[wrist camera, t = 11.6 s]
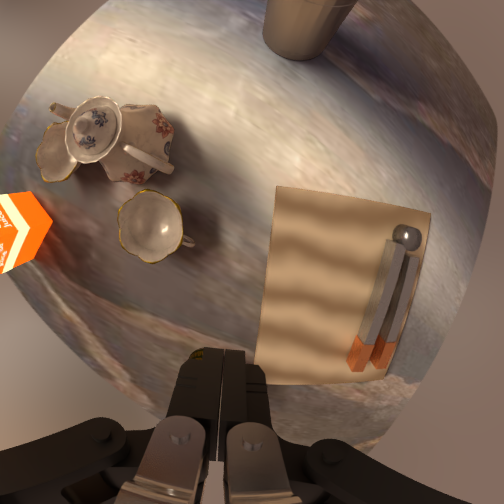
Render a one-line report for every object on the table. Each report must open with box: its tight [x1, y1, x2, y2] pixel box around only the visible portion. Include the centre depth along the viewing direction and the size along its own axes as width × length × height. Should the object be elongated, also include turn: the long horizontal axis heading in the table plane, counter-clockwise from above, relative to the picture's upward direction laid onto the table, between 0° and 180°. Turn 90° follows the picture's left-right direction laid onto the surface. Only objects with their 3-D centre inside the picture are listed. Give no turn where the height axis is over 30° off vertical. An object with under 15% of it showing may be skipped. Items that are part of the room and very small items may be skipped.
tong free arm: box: [346, 224, 422, 372], centre depth 35 cm, size 23×4×3 cm, turn 170°
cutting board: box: [254, 186, 431, 385], centre depth 38 cm, size 30×24×2 cm
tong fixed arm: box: [369, 253, 419, 369], centre depth 36 cm, size 18×2×3 cm, turn 174°
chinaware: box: [36, 96, 195, 264], centre depth 26 cm, size 28×17×17 cm, turn 57°
